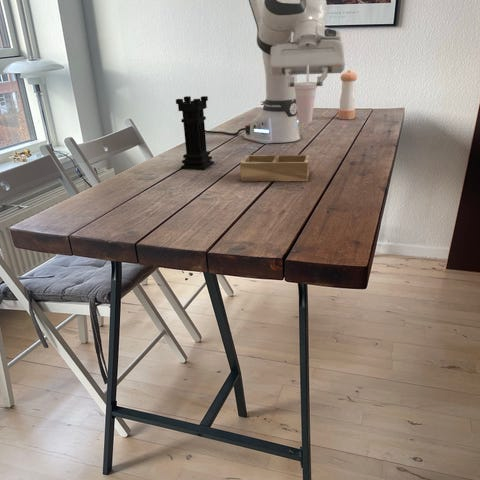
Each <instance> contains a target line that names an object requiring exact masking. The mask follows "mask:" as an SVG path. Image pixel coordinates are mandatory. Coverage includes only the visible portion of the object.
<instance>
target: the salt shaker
mask: <svg viewBox="0 0 480 480" xmlns="http://www.w3.org/2000/svg"><path fill="white" fill-rule="evenodd" d="M357 80H358V75H357V73H355V72H352V70H350V69H349V70H347V72H344V73H343V72H342V73H341V75H340V81H341V93H340V98H339V109H338V115H337V118H338V120H353V119H355V118H356V117H355V116H356V109H355V107H356V106H355V105H356V95H355V89H356V88H355V86H356V81H357Z"/></svg>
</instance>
